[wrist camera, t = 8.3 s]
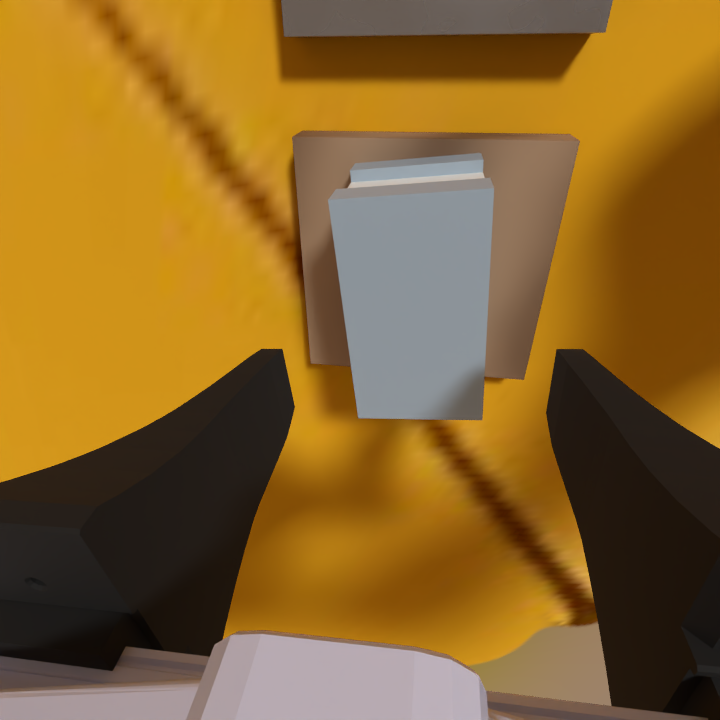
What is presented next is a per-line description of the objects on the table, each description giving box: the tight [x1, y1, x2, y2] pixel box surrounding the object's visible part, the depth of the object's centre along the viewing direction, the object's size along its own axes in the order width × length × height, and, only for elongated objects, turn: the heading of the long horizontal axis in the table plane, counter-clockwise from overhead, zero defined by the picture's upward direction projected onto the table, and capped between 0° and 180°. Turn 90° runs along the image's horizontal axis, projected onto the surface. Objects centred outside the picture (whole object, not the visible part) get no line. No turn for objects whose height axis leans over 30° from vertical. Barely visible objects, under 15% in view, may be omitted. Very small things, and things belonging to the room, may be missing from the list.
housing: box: [328, 153, 494, 420], centre depth 17 cm, size 8×4×5 cm, turn 6°
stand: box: [292, 131, 580, 380], centre depth 20 cm, size 10×10×2 cm
